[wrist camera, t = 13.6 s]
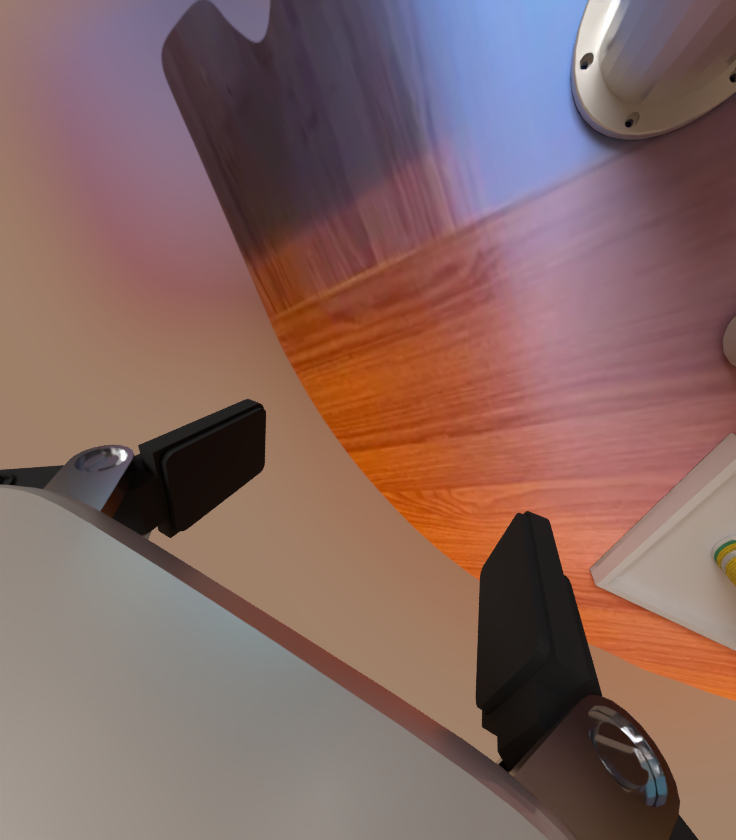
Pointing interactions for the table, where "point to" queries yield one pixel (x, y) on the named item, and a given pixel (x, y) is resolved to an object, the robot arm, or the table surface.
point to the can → (730, 342)
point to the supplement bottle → (726, 557)
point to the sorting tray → (682, 551)
